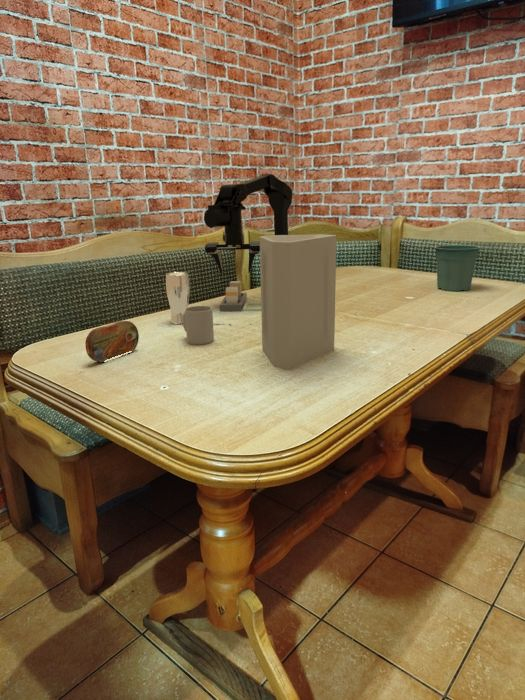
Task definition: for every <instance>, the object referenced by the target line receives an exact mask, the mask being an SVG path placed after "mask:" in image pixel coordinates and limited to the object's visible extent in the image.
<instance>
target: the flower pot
mask: <svg viewBox="0 0 525 700" xmlns="http://www.w3.org/2000/svg"><path fill="white" fill-rule="evenodd" d="M434 249H435V259H436V282H437V283H436V286H437V287H438V288H441V289H440V290H441V291H442V290H443V291H447V290H449V291H448V292H461V291H469V290H470V289H471V287H472V282H473V277H474V271H475V268H476V267H475V266H476V260H477V258H478V254H479V250H480V249H481V246H478V245H470V244H469V245H468V244H444V245H437V246H434ZM438 288H437V289H438Z"/></svg>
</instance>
